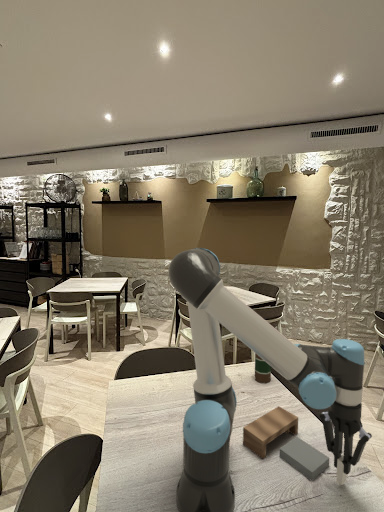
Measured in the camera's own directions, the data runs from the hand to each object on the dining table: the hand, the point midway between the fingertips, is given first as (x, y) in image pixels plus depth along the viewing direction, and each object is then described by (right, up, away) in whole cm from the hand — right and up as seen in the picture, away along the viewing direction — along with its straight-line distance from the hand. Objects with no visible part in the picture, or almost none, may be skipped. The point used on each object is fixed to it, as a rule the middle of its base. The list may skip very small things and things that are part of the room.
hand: (341, 480), depth 79 cm
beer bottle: (-8, +3, +58) cm, 58 cm away
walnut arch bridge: (-14, 0, +18) cm, 23 cm away
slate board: (-7, -1, +9) cm, 11 cm away
